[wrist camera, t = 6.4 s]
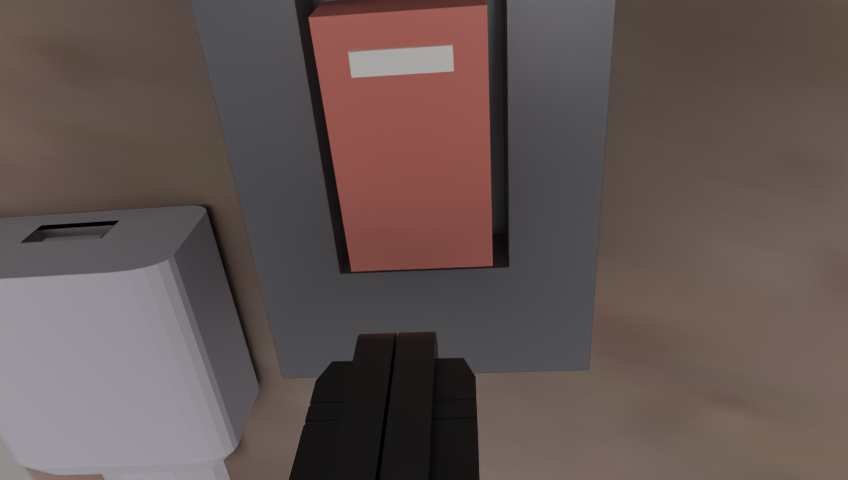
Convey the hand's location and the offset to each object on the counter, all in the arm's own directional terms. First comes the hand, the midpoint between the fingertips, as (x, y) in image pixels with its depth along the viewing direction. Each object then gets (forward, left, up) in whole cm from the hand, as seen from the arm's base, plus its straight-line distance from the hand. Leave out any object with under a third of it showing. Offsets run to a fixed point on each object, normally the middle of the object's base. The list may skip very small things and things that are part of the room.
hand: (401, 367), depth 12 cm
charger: (+9, -13, -12) cm, 19 cm away
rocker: (-2, 0, -6) cm, 7 cm away
